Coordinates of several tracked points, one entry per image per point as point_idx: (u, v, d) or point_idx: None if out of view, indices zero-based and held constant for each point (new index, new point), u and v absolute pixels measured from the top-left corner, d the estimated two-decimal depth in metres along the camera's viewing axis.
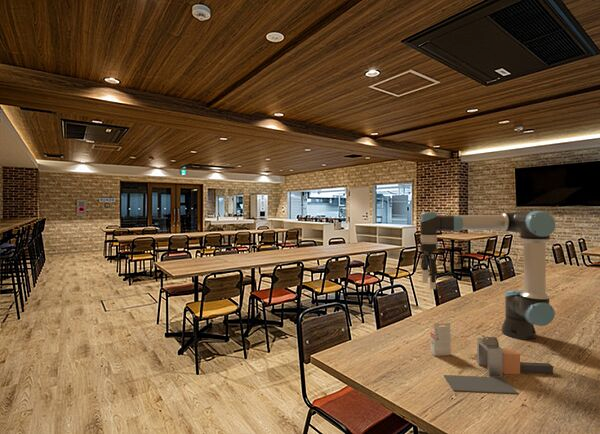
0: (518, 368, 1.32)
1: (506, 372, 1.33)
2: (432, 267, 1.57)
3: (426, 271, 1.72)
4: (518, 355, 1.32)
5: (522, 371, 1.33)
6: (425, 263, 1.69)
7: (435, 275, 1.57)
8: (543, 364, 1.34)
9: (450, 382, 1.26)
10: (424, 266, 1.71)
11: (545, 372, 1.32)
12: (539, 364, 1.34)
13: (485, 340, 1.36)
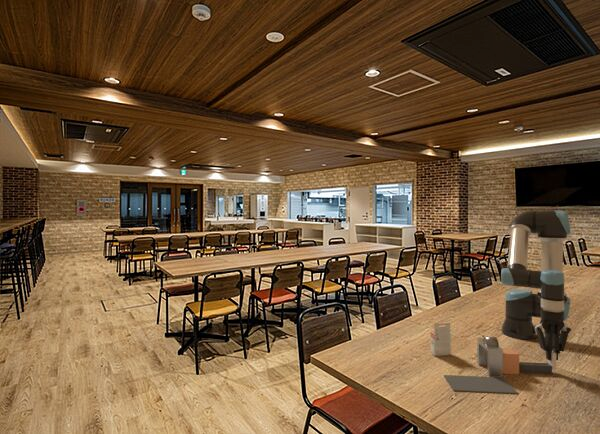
0: (517, 368, 1.32)
1: (505, 372, 1.33)
2: (539, 341, 1.34)
3: None
4: (517, 355, 1.32)
5: (521, 371, 1.33)
6: (553, 338, 1.33)
7: (549, 352, 1.32)
8: (542, 364, 1.34)
9: (450, 382, 1.26)
10: (553, 343, 1.34)
11: (544, 372, 1.32)
12: (538, 364, 1.34)
13: (485, 340, 1.36)
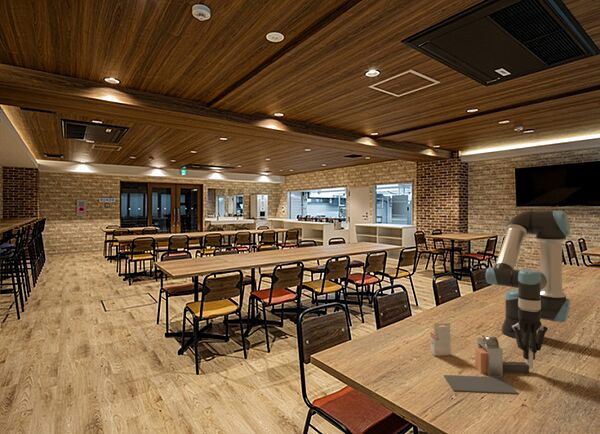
0: None
1: (483, 371, 1.34)
2: (517, 340, 1.35)
3: None
4: None
5: None
6: (530, 337, 1.34)
7: (526, 351, 1.33)
8: (519, 363, 1.34)
9: (450, 382, 1.26)
10: (530, 343, 1.34)
11: (521, 371, 1.33)
12: (515, 363, 1.34)
13: (485, 340, 1.36)
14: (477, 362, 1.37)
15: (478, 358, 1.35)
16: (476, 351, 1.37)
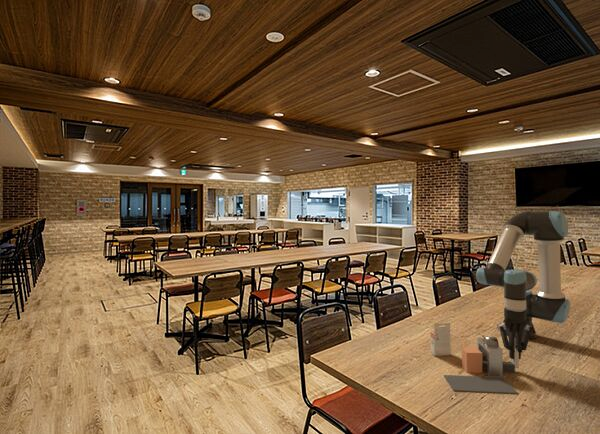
0: (480, 367, 1.34)
1: (469, 371, 1.34)
2: (502, 340, 1.36)
3: None
4: (480, 354, 1.34)
5: (484, 370, 1.35)
6: (516, 337, 1.35)
7: (512, 351, 1.34)
8: (505, 363, 1.35)
9: (450, 382, 1.26)
10: (516, 342, 1.35)
11: (507, 371, 1.34)
12: None
13: (485, 340, 1.36)
14: (463, 361, 1.37)
15: (464, 357, 1.36)
16: (462, 351, 1.38)
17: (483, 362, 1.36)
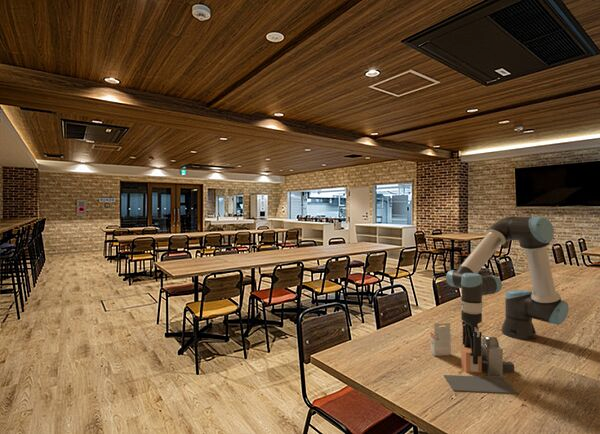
0: (480, 367, 1.34)
1: (468, 371, 1.34)
2: (476, 348, 1.30)
3: None
4: None
5: (484, 370, 1.35)
6: (468, 337, 1.38)
7: None
8: (505, 363, 1.35)
9: (450, 382, 1.26)
10: (467, 342, 1.39)
11: (506, 370, 1.34)
12: None
13: (485, 340, 1.36)
14: (463, 361, 1.37)
15: (464, 357, 1.36)
16: (462, 350, 1.38)
17: (482, 362, 1.36)
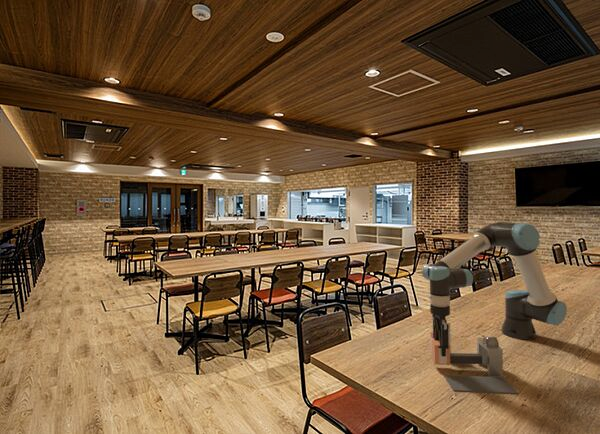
0: (448, 359, 1.35)
1: (437, 363, 1.36)
2: (443, 340, 1.32)
3: None
4: None
5: (453, 362, 1.36)
6: (437, 330, 1.40)
7: None
8: (473, 354, 1.36)
9: (450, 382, 1.26)
10: (437, 335, 1.40)
11: (475, 362, 1.35)
12: (469, 355, 1.37)
13: (485, 340, 1.36)
14: (432, 354, 1.39)
15: (433, 350, 1.38)
16: (431, 343, 1.40)
17: (451, 354, 1.37)
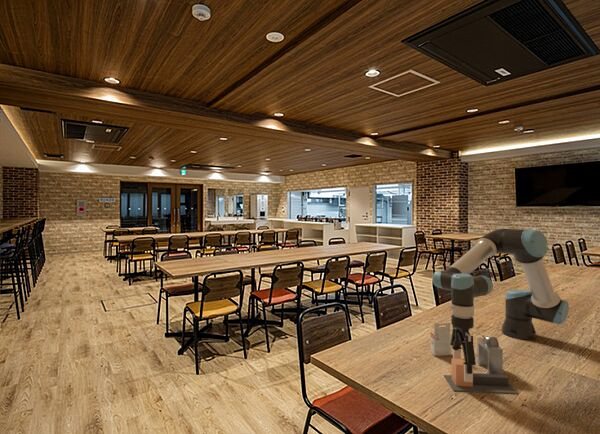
0: None
1: (458, 384, 1.23)
2: (469, 354, 1.17)
3: (458, 352, 1.30)
4: None
5: (476, 383, 1.24)
6: (457, 341, 1.29)
7: (472, 364, 1.18)
8: (498, 375, 1.24)
9: (450, 382, 1.26)
10: (456, 345, 1.30)
11: (500, 384, 1.23)
12: (494, 375, 1.24)
13: (485, 340, 1.36)
14: (453, 374, 1.26)
15: (454, 369, 1.25)
16: (452, 362, 1.27)
17: (474, 375, 1.25)
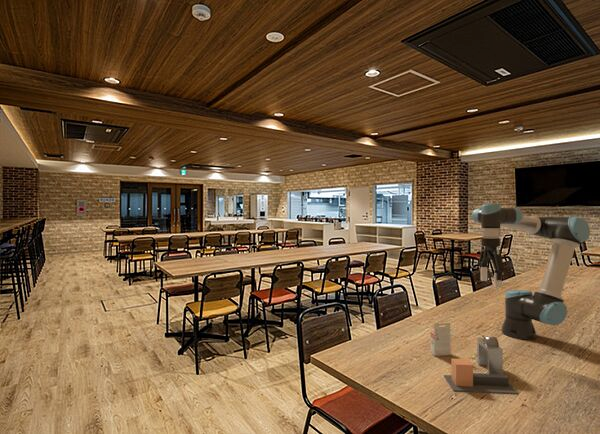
0: (471, 380, 1.23)
1: (458, 384, 1.23)
2: (498, 263, 1.42)
3: (485, 268, 1.57)
4: (471, 366, 1.23)
5: (476, 383, 1.24)
6: (485, 259, 1.55)
7: (501, 272, 1.43)
8: (498, 375, 1.24)
9: (450, 382, 1.26)
10: (483, 263, 1.57)
11: (500, 384, 1.23)
12: (494, 375, 1.24)
13: (485, 340, 1.36)
14: (453, 374, 1.26)
15: (454, 369, 1.25)
16: (452, 362, 1.27)
17: (474, 375, 1.25)
